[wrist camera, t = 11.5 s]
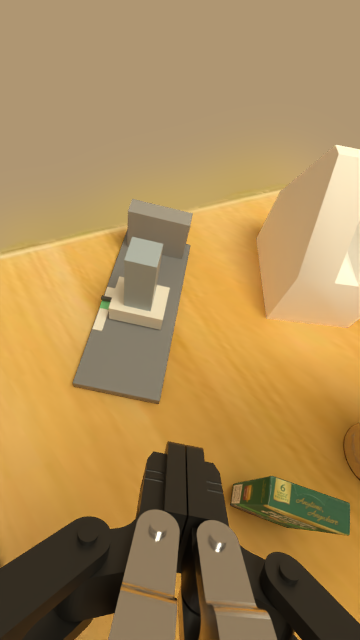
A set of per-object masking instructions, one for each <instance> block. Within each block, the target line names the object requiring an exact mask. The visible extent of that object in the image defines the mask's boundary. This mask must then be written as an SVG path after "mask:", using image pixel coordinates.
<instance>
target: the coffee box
mask: <svg viewBox="0 0 360 640" xmlns="http://www.w3.org/2000/svg"><path fill="white" fill-rule="evenodd" d="M230 505H231V506H233V507H235V508H237V509H240V510H243V511H245V512H247V513H250V514H253V515H255V516H258V517H260V518H263V519H266V520H268V521H271V522H273V523H276V524H279V525H282V526H284V527H287V528H295V529H304V530H311V531H319V532H326V533H334V534H340V535H347V536H348V535H349V534H350V504H349V503H348V502H345V501H343V500H340V499H337V498H334V497H331V496H328V495H325V494H322V493H320V492H317V491H314V490H311V489H308V488H305V487H302V486H300V485H297V484H294V483H291V482H288V481H285V480H283V479H280V478H277V477H274V476H269V477H264V478H259V479H255V480H250V481H244V482H240V483H236V484H233V491H232V498H231V504H230Z"/></svg>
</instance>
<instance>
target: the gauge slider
mask: <svg viewBox="0 0 360 640" xmlns="http://www.w3.org/2000/svg"><path fill="white" fill-rule="evenodd" d="M162 249H163V244H162V243H157V242H153V241H149V240H144V239H140V238H136V237H132V239H131V242H130V245H129V248H128V251H127V254H126V257H125V259H124V277H120V276H119V279H118V282H117V284H116V287H115V290H114V293H113V296H112V297H107V296H103V295H102V297H101V300H103V301H108V302H110V305H109V319H113V320H118V321H122V322H127V323H131V324H136V325H141V326H145V327H150V328H154V329H159V330H161V326H162V321H163V317H164V312H165V308H166V303H167V299H168V294H169V290H170V288H169V287H164V286H160V285H157V281H158V274H159V268H160V262H161V256H162Z"/></svg>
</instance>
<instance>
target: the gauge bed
mask: <svg viewBox="0 0 360 640" xmlns="http://www.w3.org/2000/svg"><path fill="white" fill-rule="evenodd" d="M192 214H193V213H189V212H184V211H180V210H176V209H172V208H168V207H164V206H159V205H155V204H151V203H146V202H143V201H139V200H135V199H132V202H131V205H130V207H129V210H128V230H127V232H126V235H125V238H124V241H123V244H122V246H121V249H120V252H119V255H118V258H117V260H116V263H115V266H114V269H113V272H112V274H111V277H110V280H109V283H108V286H107V288H106V291H105V294H104V296H107V297H112V296H113V293H114V290H115V287H116V284H117V282H118V279H119V276H120V277H124V259H125V257H126V254H127V251H128V248H129V245H130V242H131V239H132V237H136V238H140V239H144V240H149V241H153V242H157V243H162V244H163V249H162V256H161V262H160V268H159V274H158V281H157V285H160V286H164V287H169V288H170V290H169V294H168V299H167V303H166V308H165V312H164V317H163V321H162V326H161V330H159V329H154V328H150V327H145V326H141V325H136V324H131V323H127V322H122V321H118V320H113V319H109V305H110V302H108V301H103V300H102V302H101V305H100V308H99V311H98V314H97V316H96V319H95V322H94V325H93V328H92V330H91V333H90V336H89V339H88V342H87V344H86V347H85V350H84V353H83V356H82V358H81V361H80V364H79V367H78V370H77V372H76V375H75V378H74V381H73V385H74V387H79V388H84V389H88V390H93V391H98V392H103V393H108V394H113V395H117V396H122V397H127V398H132V399H137V400H142V401H146V402H151V403H156V404H159V401H160V397H161V392H162V387H163V382H164V377H165V371H166V366H167V361H168V356H169V351H170V346H171V341H172V336H173V331H174V326H175V321H176V316H177V311H178V306H179V300H180V295H181V290H182V285H183V280H184V275H185V270H186V265H187V260H188V255H189V250H190V245H188V244H186V241H187V237H188V233H189V228H190V224H191V219H192Z"/></svg>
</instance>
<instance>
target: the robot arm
mask: <svg viewBox="0 0 360 640" xmlns="http://www.w3.org/2000/svg"><path fill="white" fill-rule="evenodd" d="M344 450H345V455H346V458H347V461H348V464H349V465H350V467H351V469H352V471H353V472H354V473H355V475H356V476H357V477H358V478H359V479H360V423H358V424H355V425H354V426H352V427H351V428H350V429H349V430H348V432H347V434H346V436H345V441H344ZM221 484H222V483H221V478H220V473H219V471H218V470H217V468H216V467H215V465H214V464H213V463H209V462H205V461H204V452H203V448H199V447H194V446H189V445H184V444H179V443H174V442H169V441H168V442H167V445H166V449H165V453H164V454H163V453H158V452H153V453H152V454H151V455H150V457H149V458H148V459H147V463H146V467H145V471H144V476H143V480H142V484H141V488H140V494H139V501H138V506H137V513H136V519H135V520H134V521H133V522H132V523H131V524H129V525H127V526H125V527H122V528H116V529H110V528H109V526H108V525H107V524H106V523H105V522H104V521H103V520H101V519H99V518H96V517H82V518H79V519H76V520H75V521H73V522H71V523H70V524H68V525H67V526H65V527H64V528H62V529H61V530H59V531H57V532H56V533H54V534H53V535H51V536H50V537H48V538H47V539H45V540H44V541H42V542H40V543H39V544H37V545H36V546H34V547H33V548H31V549H30V550H28V551H27V552H25V553H23V554H22V555H20V556H19V557H17V558H16V559H14V560H13V561H11V562H10V563H8V564H6V565H5V566H3V567H2V568H0V640H74V639H75V638H76V637H77V636H78V635H79V634H80V633H81V632H82V631H83V630H84V629H85V628H86V627H87V626H88V625H89V624H90V623H91V621H92V620H93V618H96V617H100V616H104V615H108V614H113V613H115V614H114V618H113V622H112V626H111V630H110V634H109V638H108V640H175V629H176V616H177V598H174V594H175V581H176V573H181V586H180V590H179V593H178V619H179V636H180V640H298V639H297V638H296V637H295V635H294V632H296V633H297V634H298V635H299V637H300V638H301V639H302V640H360V624H359V623H358V622H357V621H356V620H355V619H354V618H353V617H352V616H351V615H350V614H349V613H348V612H347V611H346V610H345V609H344V608H343V607H342V606H341V605H340V604H339V603H338V602H337V600H336V599H335V598H334V597H333V596H332V595H331V594H330V593H329V592H328V591H327V590H326V589H325V588H324V587H323V586H322V585H321V584H320V583H319V582H318V581H317V580H316V579H315V578H314V577H313V576H312V575H311V574H310V573H309V572H308V571H307V570H306V569H305V568H304V567H303V566H302V565H301V564H300V563H299V562H298V561H297V560H295V559H294V558H292V557H291V556H289V555H287V554H284V553H281V552H274V553H271V554H269V555H268V556H267V558H266V560H264V559H262V558H260V557H258V556H256V555H254V554H252V553H250V552H249V551H247V550H245V549H244V548H243V547H242V546H240V545H239V541H238V539H237V536H236V535H235V533H234V532H233V531H232V530H231V528H229V524H228V518H227V512H226V507H225V501H224V495H223V489H222V486H221Z"/></svg>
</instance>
